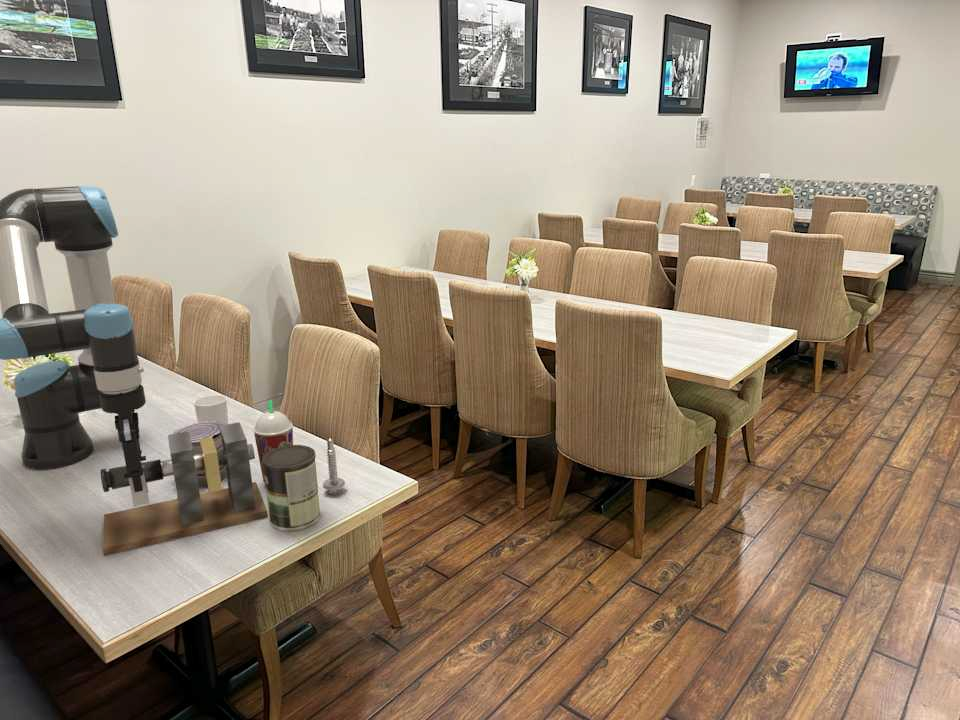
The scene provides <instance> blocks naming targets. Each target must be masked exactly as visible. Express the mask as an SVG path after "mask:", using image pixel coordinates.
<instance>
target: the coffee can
mask: <svg viewBox="0 0 960 720" xmlns="http://www.w3.org/2000/svg"><path fill="white" fill-rule="evenodd" d="M316 463H317V462H316V451H315V449H313V448H312V447H311V446H308V445H304V444H303V445H302V444H293V445H288V446H282V447H278V448H275V449H273V450H271V451H269V452H267V453H266V454H265V455H264V456H263V457H262V464H263V468H264V476H265V482H264V484H265V490H266V499H267V508H268V509H267V510H268V518H269V524H270V526H271V527H272V528H273V529H276V530H279V531H283V532H284V531H285V532H295V531H300V530H304V529H306V528H309V527H311V526H313V525H314V524H316V523H317V522H318V521H319V520H320V518H321V509H320V507H321V505H320V497H319V496H320V495H319V487H318V475H317V464H316Z"/></svg>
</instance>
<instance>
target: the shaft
mask: <svg viewBox="0 0 960 720" xmlns="http://www.w3.org/2000/svg"><path fill="white" fill-rule="evenodd" d="M247 446H248V454H249V461H251V460H255V459H256V458H255V456H256V455H255V449H254V445H253V443H249V444H248V443H247ZM217 456H218V463H219V466H222V465H227V457H226V449H222V450H217ZM194 460H195V466H196V471H197V470H202V469H205V464H204V458H203V454H202V453H201V454H196V455H194ZM142 462H143V463H141V465H142V470H143V472H144V476H145V482H146V483H147V484H148V483H151V482H157V481H161V480H164V478H166V477H172V476H174V472H173V466H172V460H171V458H169V459H165V460H161V459H160V458H159V459H154V460H150V461H145V462H144V461H142ZM124 474H127V468H126V465H123V466H118V467H112V468H109V469H108V471H107V469H106V468H102V469H100V479H101V486H102V490H103V492H104V493H108V492H110V488H111V489H112V490H116V489H121V488H127V487H130V484H129V478H124Z"/></svg>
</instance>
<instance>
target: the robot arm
mask: <svg viewBox="0 0 960 720" xmlns="http://www.w3.org/2000/svg"><path fill="white" fill-rule="evenodd" d="M118 236H119V231H118V228H117V224H116V220H115V217H114V214H113V211H112V208H111V205H110V203H109V200H108V197H107V195H106V193H105V191H104V190H103V189H101V188H100V187H97V186H83V185H82V186H80V185H77V186H61V187H60V186H59V187H44V188H43V187H41V188H24V189H19V190H16V191H13V192H11V193H9V194H7V195H6V196H4V197H3V198H1V199H0V310H1V318H0V360H3V361H9V360H19V359H23V360H24V359H28V358H29V359H30V358H32V357H33V358H34V357H40V356H47V355H54V354H60V353H64V352H66V353H67V352H74V351H81V350H82V352H81V353H80V354H79V355H78V357H77V362H78V364H76V365H70V364H69V363H68V361H66V360H62V359H60V360H50V361H45V362H42V363H41V362H40V363H38V364H34V365H32V366H29V367H27V368H25V369H23V370H21V371H20V372H18V373H17V374H16V375H15V376H14V379H13V385H14V386H13V387H14V390H15V393H14V396H15V398H17V403H18V408H19V412H20V417H21V422H22V426H23V430H24V437H23V444H22V451H21V459H22V465H23V464H24V465H25V466H26V467H25V466H24V465H23V466H24V467H25V468H27V467H29V468H28V469H30V468H34V469H33V470H50V469H49V468H52V469H58V468H62V467H61V466H63V467H67V466H70V465H73V464H76V463H79V462H80V460H81V461H83V460H85V459H87V458H88V457H89V456H90V455H92V454H93V452H94V450H95V448H94V443H93V440H92V438H91V437H90V435H89V434H88V432H87V430H86V429H85V428H84V426H83V424H82V423H81V420H80V414H79V413H84V412H88V411H89V412H90V411H95V410H100V409H101V410H102V412H104V413H108V414H116V415H114V426H115V430H117V435H118V441H119V442H120V443H121V447H122V453H123V457H124V461H125V466H126V468H127V474H124V478H129V484H130V486H129V488H130V493H131V498H132V504H133V505H132V506H133V508H136V507H140V506H145V505H147V504H148V505H150V500H149V488H148V482H147V483H146V482H145V476H144V472H143V470H142V465H141V463H143V462H144V461H145V462H146V461H147V455H142V453H143V452H142V450H141V445H140V437H141V436H140V427H139V426H140V425H139V424H140V423H139V421H140V420H139V414H138V412H137V411H136V412H135V410H139V409H140V408H142V407H143V406H145V404H146V401H147V399H146V396H145V389H144V386H143V385H142V383H143V382H142V381H143V380H142V374H141V373H144V371H145V369H144V368H143V367H142V366H140V361H139V358H138V352H137V345H136V344H137V343H136V339H135V331H134V321H133V319H132V315H131V312H130V309H129V307H128V306H126V305H125V304H119V303H116V300H115V299H116V298H115V292H114V286H113V280H112V276H111V270H110V269H111V268H110V263H109V258H108V251H110V249H111V248H112V247H113V239H116V238H117V237H118ZM43 242H44V243H50V242H54V247H55V250H56V251H58V252H59V253H60V254H62V255H63V256H64V258H65V264H66V268H67V274H68V278H69V284H70V288H71V293H72V299H73V305H74V310H70V311H69V310H68V311H60V312H52V313H51V312H50V311H49V306H48V301H47V297H46V289H45V285H44V279H43V275H42V270H41V266H40V260H39V256H38V255H39V254H38V250H37V248H38V247H39V245H40V243H43ZM75 462H76V463H75ZM69 464H70V465H69ZM66 465H67V466H66ZM57 467H58V468H57Z"/></svg>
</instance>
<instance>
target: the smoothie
mask: <svg viewBox="0 0 960 720" xmlns="http://www.w3.org/2000/svg"><path fill="white" fill-rule="evenodd" d="M272 400H273V399H269V400H268V407H269V411H266V412H264V413H263V414H261V415H259V416H260V417H258V419H257V420H256V422H255V425H254V427H253V429H252V430H253V431H252V432H253V433H254V434H253V436H254V439H255V444H256V450H257V455H258V460H259V465H260V470H261V475H262V479H263V480H262V481H263V482H264V483H265V476H264V468H263V464H262V457H263V456H264V455H265V454H266V453H267V452H269V451H271V450H273V449H275V448H278V447H282V446H288V445H294V432H293V427H294V426H293V423H292V422H291V421H290V419H289V418H288V416H287V415H285V414H284V413H282V412H280V411H278V410H273V409H274V407H273V401H272Z"/></svg>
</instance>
